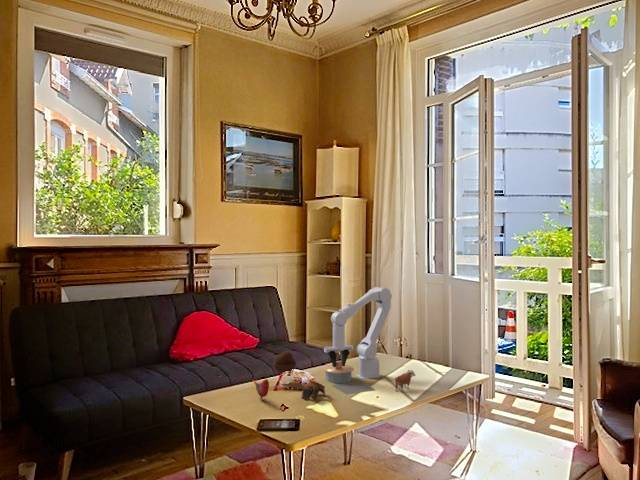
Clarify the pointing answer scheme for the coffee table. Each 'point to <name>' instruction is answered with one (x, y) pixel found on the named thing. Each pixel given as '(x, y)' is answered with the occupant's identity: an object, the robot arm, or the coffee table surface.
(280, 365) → the dark brown rounded lump
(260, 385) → the decorative bird figurine
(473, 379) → the coffee table surface
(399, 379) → the bull figurine
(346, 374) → the bowl
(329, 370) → the lid
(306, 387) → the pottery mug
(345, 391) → the mat
